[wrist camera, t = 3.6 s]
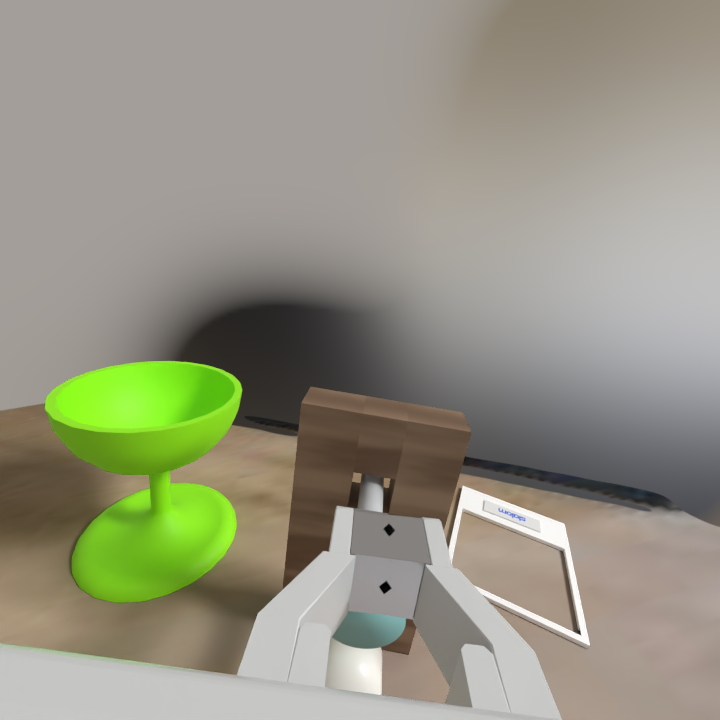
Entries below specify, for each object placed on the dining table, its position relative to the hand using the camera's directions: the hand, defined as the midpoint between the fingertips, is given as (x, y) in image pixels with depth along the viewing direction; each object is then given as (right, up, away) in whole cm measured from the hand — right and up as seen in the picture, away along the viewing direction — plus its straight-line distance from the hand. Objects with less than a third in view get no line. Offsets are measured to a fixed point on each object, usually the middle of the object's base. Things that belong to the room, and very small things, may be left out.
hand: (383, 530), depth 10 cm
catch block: (-2, -20, +22) cm, 30 cm away
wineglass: (-23, -15, +29) cm, 40 cm away
